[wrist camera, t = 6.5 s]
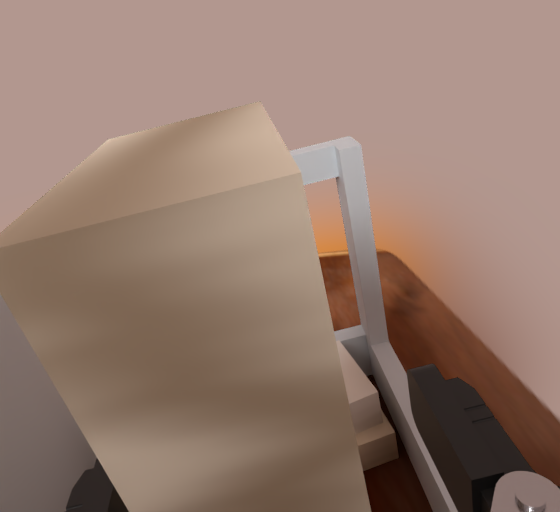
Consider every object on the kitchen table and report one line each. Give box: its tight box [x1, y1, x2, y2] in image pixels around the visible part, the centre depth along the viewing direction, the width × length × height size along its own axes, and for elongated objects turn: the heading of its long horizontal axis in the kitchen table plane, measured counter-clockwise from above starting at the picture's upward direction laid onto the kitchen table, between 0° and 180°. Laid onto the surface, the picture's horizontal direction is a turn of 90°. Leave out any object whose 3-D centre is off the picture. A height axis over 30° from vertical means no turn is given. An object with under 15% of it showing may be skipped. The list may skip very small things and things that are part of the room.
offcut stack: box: [336, 340, 399, 471], centre depth 22 cm, size 12×5×6 cm, turn 104°
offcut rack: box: [0, 136, 458, 512], centre depth 15 cm, size 16×22×14 cm
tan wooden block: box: [0, 101, 371, 512], centre depth 11 cm, size 4×6×18 cm, turn 6°
